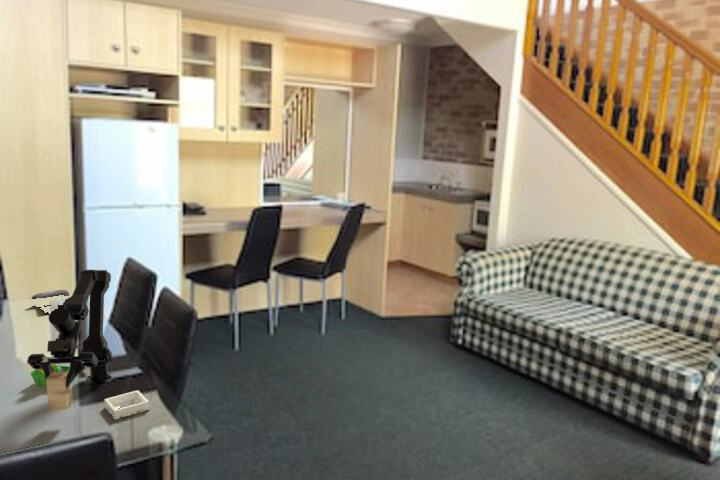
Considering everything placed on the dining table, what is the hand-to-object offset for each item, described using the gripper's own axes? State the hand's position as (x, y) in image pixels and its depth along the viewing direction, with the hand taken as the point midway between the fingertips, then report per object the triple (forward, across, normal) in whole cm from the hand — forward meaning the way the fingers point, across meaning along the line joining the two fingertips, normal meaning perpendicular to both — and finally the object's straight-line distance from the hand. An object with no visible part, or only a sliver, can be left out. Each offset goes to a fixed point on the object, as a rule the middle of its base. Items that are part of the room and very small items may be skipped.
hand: (57, 387), depth 174 cm
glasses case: (-86, -55, +105) cm, 146 cm away
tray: (+2, +17, +15) cm, 23 cm away
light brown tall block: (+4, 0, +6) cm, 7 cm away
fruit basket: (-14, -15, +32) cm, 38 cm away
